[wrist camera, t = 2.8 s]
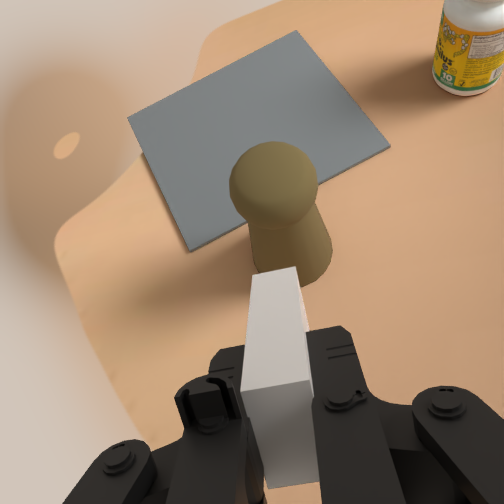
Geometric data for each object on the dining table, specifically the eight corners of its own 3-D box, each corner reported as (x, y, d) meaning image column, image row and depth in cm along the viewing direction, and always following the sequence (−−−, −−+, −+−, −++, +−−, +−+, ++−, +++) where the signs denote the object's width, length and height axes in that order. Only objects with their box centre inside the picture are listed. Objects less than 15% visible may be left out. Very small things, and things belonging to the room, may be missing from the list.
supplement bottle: (507, 92, 38) (551, -18, 30) (437, 103, 39) (460, -1, 31) (490, 43, 41) (526, -71, 32) (425, 55, 41) (443, -54, 33)
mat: (296, 32, 46) (296, 29, 45) (390, 147, 38) (390, 144, 38) (128, 119, 45) (127, 117, 45) (190, 252, 38) (189, 250, 38)
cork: (241, 274, 36) (198, 201, 26) (269, 207, 38) (240, 115, 28) (316, 298, 34) (301, 229, 24) (343, 226, 36) (338, 135, 26)
